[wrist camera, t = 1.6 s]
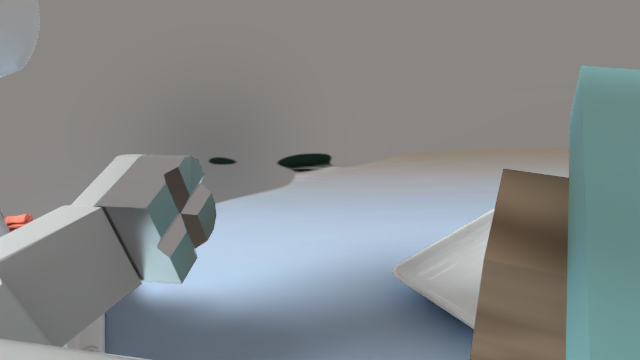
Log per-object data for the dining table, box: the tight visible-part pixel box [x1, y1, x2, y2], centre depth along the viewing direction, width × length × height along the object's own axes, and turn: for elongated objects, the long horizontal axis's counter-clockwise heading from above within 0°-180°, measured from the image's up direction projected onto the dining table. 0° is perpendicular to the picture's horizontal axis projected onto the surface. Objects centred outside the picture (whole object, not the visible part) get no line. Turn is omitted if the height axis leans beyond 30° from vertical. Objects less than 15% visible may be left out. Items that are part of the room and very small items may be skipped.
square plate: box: [392, 209, 495, 329], centre depth 55 cm, size 27×27×4 cm
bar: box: [566, 66, 640, 360], centre depth 22 cm, size 26×4×4 cm, turn 158°
